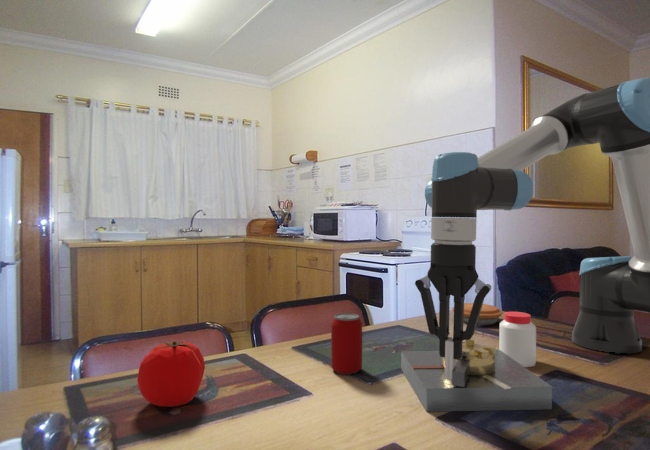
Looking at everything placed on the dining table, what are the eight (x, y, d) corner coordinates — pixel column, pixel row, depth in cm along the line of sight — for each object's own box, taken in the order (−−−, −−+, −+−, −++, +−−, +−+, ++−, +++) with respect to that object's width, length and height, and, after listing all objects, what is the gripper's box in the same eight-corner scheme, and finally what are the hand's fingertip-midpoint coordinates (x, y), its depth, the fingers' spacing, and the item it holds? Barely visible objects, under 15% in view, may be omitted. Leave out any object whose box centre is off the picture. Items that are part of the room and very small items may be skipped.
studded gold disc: (446, 354, 89) (446, 334, 88) (497, 361, 84) (497, 340, 84) (428, 382, 73) (428, 358, 73) (489, 393, 69) (489, 367, 69)
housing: (499, 367, 92) (499, 349, 92) (554, 411, 72) (554, 387, 71) (401, 369, 92) (401, 350, 91) (427, 413, 71) (427, 389, 71)
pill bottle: (540, 368, 92) (540, 318, 92) (503, 366, 94) (503, 317, 93) (530, 356, 100) (530, 311, 99) (496, 354, 101) (496, 309, 101)
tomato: (165, 423, 68) (164, 355, 68) (123, 406, 74) (123, 344, 74) (219, 396, 78) (219, 337, 78) (179, 383, 84) (179, 328, 84)
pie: (455, 326, 128) (455, 310, 128) (449, 314, 144) (449, 300, 144) (508, 328, 126) (508, 311, 126) (496, 316, 141) (496, 301, 141)
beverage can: (366, 367, 93) (366, 314, 93) (355, 378, 87) (355, 320, 86) (338, 363, 96) (338, 311, 95) (326, 373, 89) (326, 317, 89)
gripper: (410, 241, 73) (408, 375, 73) (489, 245, 66) (485, 391, 67) (422, 239, 79) (420, 362, 80) (495, 242, 73) (492, 376, 73)
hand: (450, 375), depth 73 cm, fingers closed
